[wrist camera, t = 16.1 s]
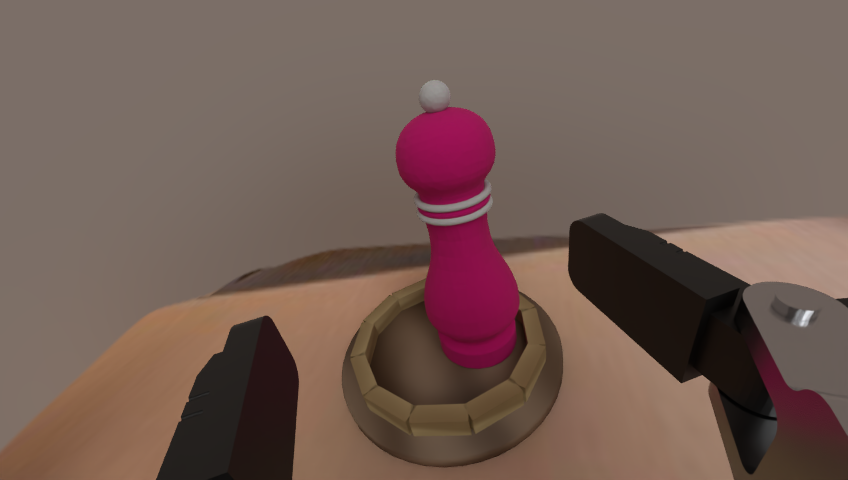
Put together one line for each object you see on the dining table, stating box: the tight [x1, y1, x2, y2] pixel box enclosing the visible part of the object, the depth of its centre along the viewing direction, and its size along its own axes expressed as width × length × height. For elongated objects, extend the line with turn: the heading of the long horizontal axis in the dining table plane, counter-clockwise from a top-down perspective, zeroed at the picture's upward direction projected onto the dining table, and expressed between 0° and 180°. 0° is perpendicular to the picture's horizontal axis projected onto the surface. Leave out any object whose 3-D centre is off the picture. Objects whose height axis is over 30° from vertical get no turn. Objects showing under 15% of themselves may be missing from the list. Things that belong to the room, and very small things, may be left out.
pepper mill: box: [396, 80, 520, 369], centre depth 24 cm, size 7×7×20 cm
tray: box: [342, 279, 563, 467], centre depth 29 cm, size 18×18×2 cm
